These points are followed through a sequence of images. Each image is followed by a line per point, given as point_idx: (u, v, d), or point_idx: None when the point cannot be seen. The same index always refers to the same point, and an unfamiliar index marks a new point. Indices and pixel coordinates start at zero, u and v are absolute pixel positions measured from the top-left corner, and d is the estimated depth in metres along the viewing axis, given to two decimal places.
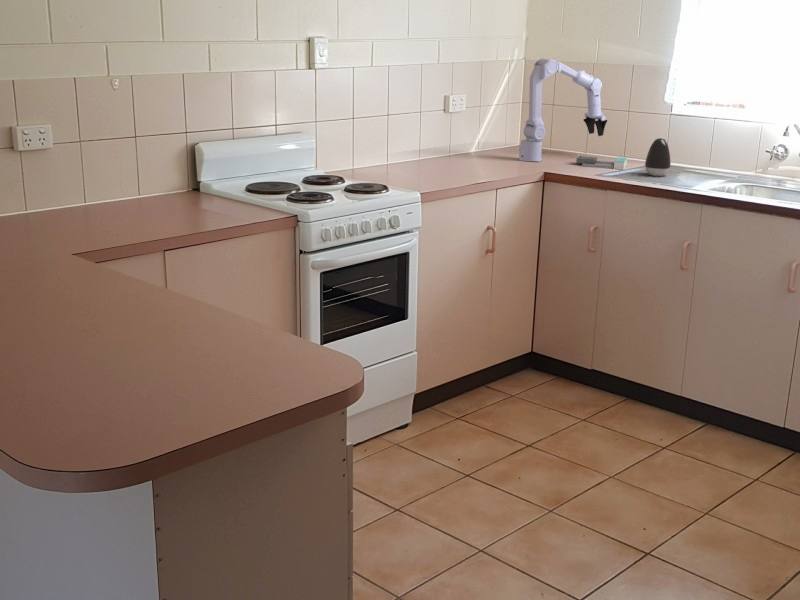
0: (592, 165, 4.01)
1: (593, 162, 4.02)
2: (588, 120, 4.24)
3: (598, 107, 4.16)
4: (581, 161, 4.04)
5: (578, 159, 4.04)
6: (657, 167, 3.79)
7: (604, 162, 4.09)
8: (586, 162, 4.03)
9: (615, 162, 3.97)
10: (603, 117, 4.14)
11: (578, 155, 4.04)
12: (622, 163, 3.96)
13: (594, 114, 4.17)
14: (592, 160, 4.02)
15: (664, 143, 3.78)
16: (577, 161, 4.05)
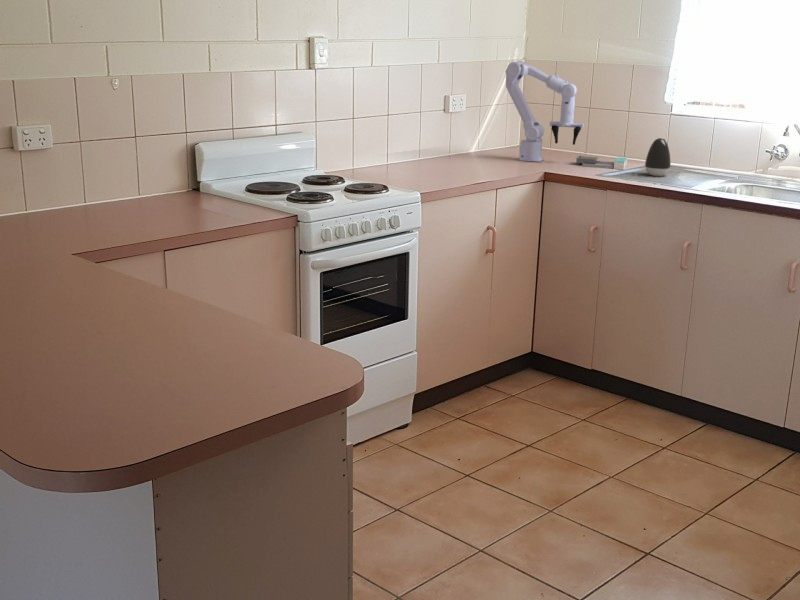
0: (592, 165, 4.01)
1: (593, 162, 4.02)
2: None
3: None
4: (581, 161, 4.04)
5: (578, 159, 4.04)
6: (657, 167, 3.79)
7: (604, 162, 4.09)
8: (586, 162, 4.03)
9: (615, 162, 3.97)
10: None
11: (578, 155, 4.04)
12: (622, 163, 3.96)
13: None
14: (592, 160, 4.02)
15: (664, 143, 3.78)
16: (577, 161, 4.05)
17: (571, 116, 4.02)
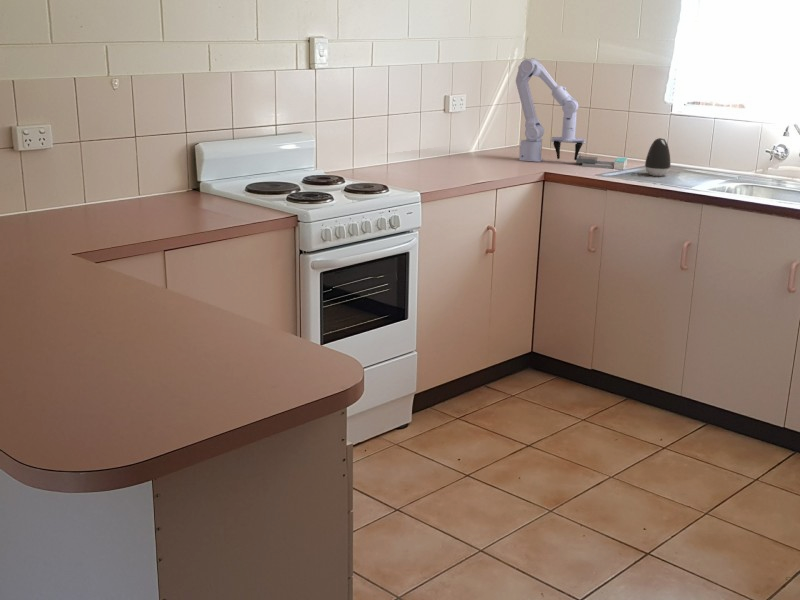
0: (592, 165, 4.01)
1: (593, 162, 4.02)
2: None
3: (562, 130, 4.06)
4: (581, 161, 4.04)
5: (578, 159, 4.04)
6: (657, 167, 3.79)
7: (604, 162, 4.09)
8: (586, 162, 4.03)
9: (615, 162, 3.97)
10: None
11: (578, 155, 4.04)
12: (622, 163, 3.96)
13: None
14: (592, 160, 4.02)
15: (664, 143, 3.78)
16: (577, 161, 4.05)
17: (573, 132, 4.03)
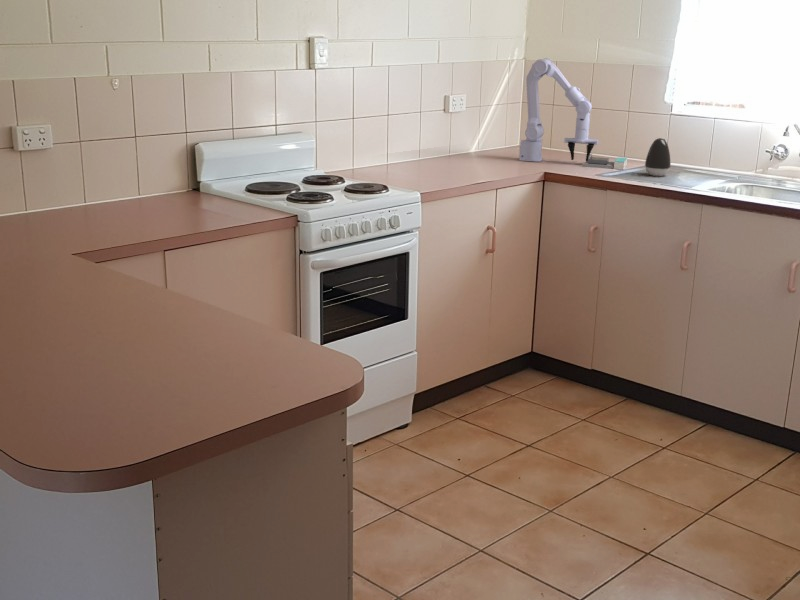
0: (592, 165, 4.01)
1: (605, 163, 4.01)
2: None
3: (575, 131, 4.04)
4: (593, 162, 4.02)
5: (590, 160, 4.03)
6: (657, 167, 3.79)
7: None
8: (598, 163, 4.02)
9: (615, 162, 3.97)
10: None
11: None
12: (622, 163, 3.96)
13: None
14: (604, 161, 4.01)
15: (664, 143, 3.78)
16: (589, 162, 4.03)
17: (586, 133, 4.02)
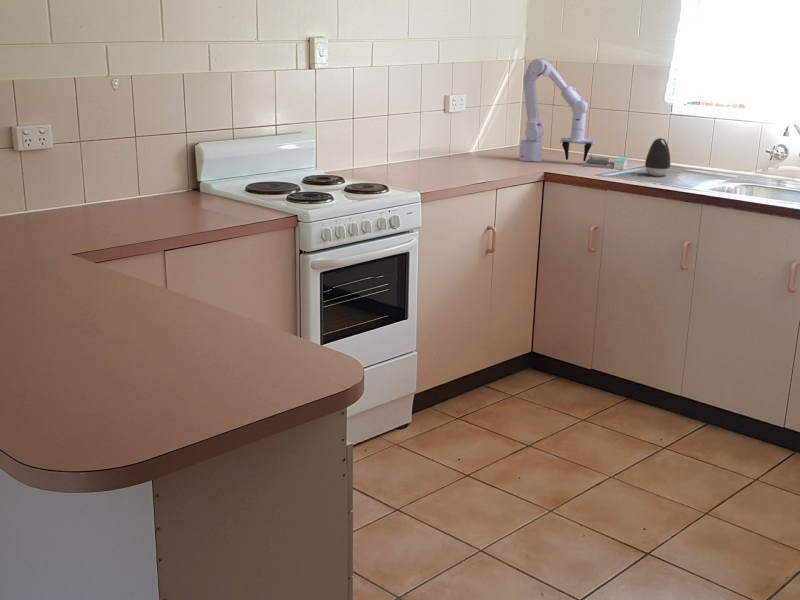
0: (592, 165, 4.01)
1: (605, 163, 4.01)
2: None
3: (571, 130, 4.05)
4: (593, 162, 4.02)
5: (590, 160, 4.03)
6: (657, 167, 3.79)
7: None
8: (598, 163, 4.02)
9: (615, 162, 3.97)
10: None
11: None
12: (622, 163, 3.96)
13: None
14: (604, 161, 4.01)
15: (664, 143, 3.78)
16: (589, 162, 4.03)
17: (582, 133, 4.02)
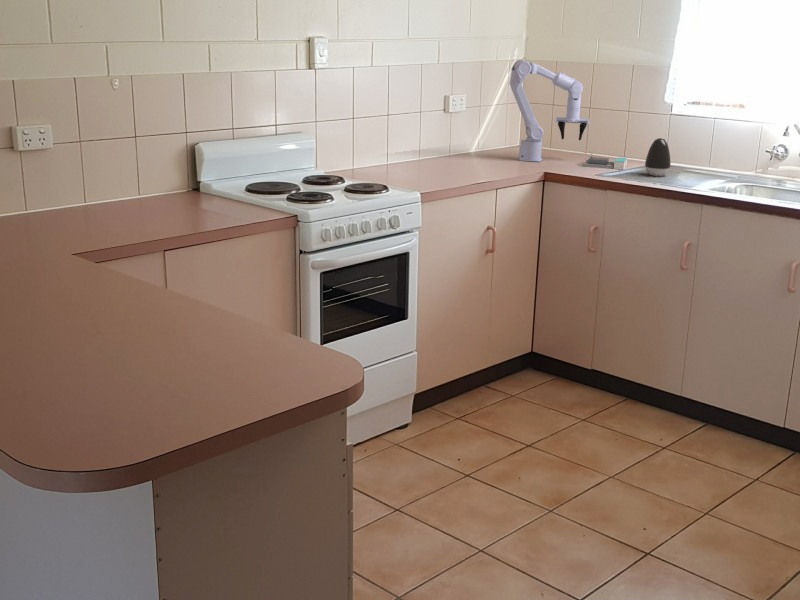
0: (592, 165, 4.01)
1: (605, 163, 4.01)
2: None
3: None
4: (593, 162, 4.02)
5: (590, 160, 4.03)
6: (657, 167, 3.79)
7: None
8: (598, 163, 4.02)
9: (615, 162, 3.97)
10: None
11: None
12: (622, 163, 3.96)
13: None
14: (604, 161, 4.01)
15: (664, 143, 3.78)
16: (589, 162, 4.03)
17: (577, 112, 4.08)
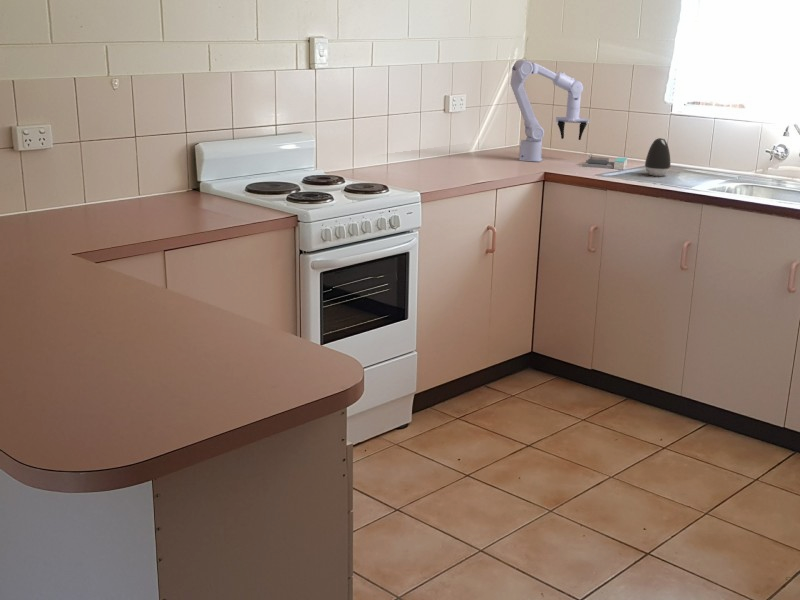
0: (592, 165, 4.01)
1: (605, 163, 4.01)
2: None
3: None
4: (593, 162, 4.02)
5: (590, 160, 4.03)
6: (657, 167, 3.79)
7: None
8: (598, 163, 4.02)
9: (615, 162, 3.97)
10: None
11: None
12: (622, 163, 3.96)
13: None
14: (604, 161, 4.01)
15: (664, 143, 3.78)
16: (589, 162, 4.03)
17: (577, 112, 4.09)
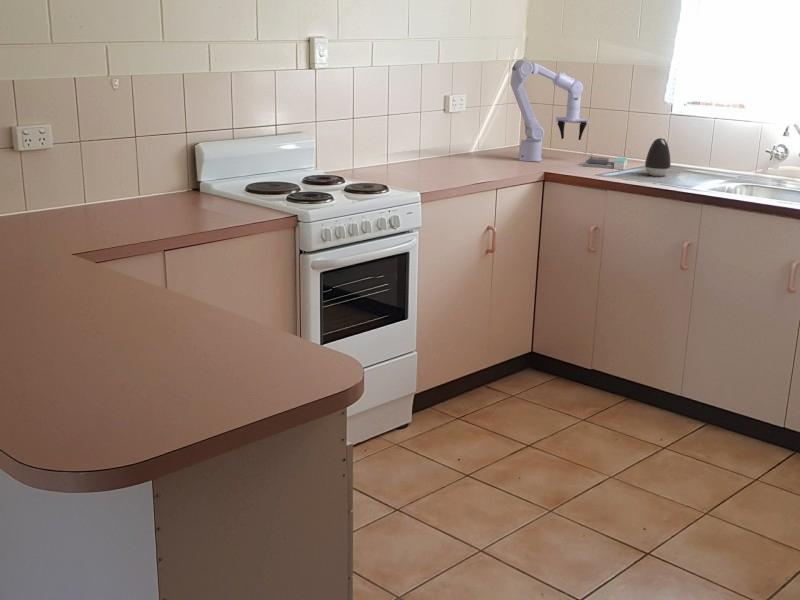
0: (592, 165, 4.01)
1: (605, 163, 4.01)
2: None
3: None
4: (593, 162, 4.02)
5: (590, 160, 4.03)
6: (657, 167, 3.79)
7: None
8: (598, 163, 4.02)
9: (615, 162, 3.97)
10: None
11: None
12: (622, 163, 3.96)
13: None
14: (604, 161, 4.01)
15: (664, 143, 3.78)
16: (589, 162, 4.03)
17: (577, 112, 4.09)
